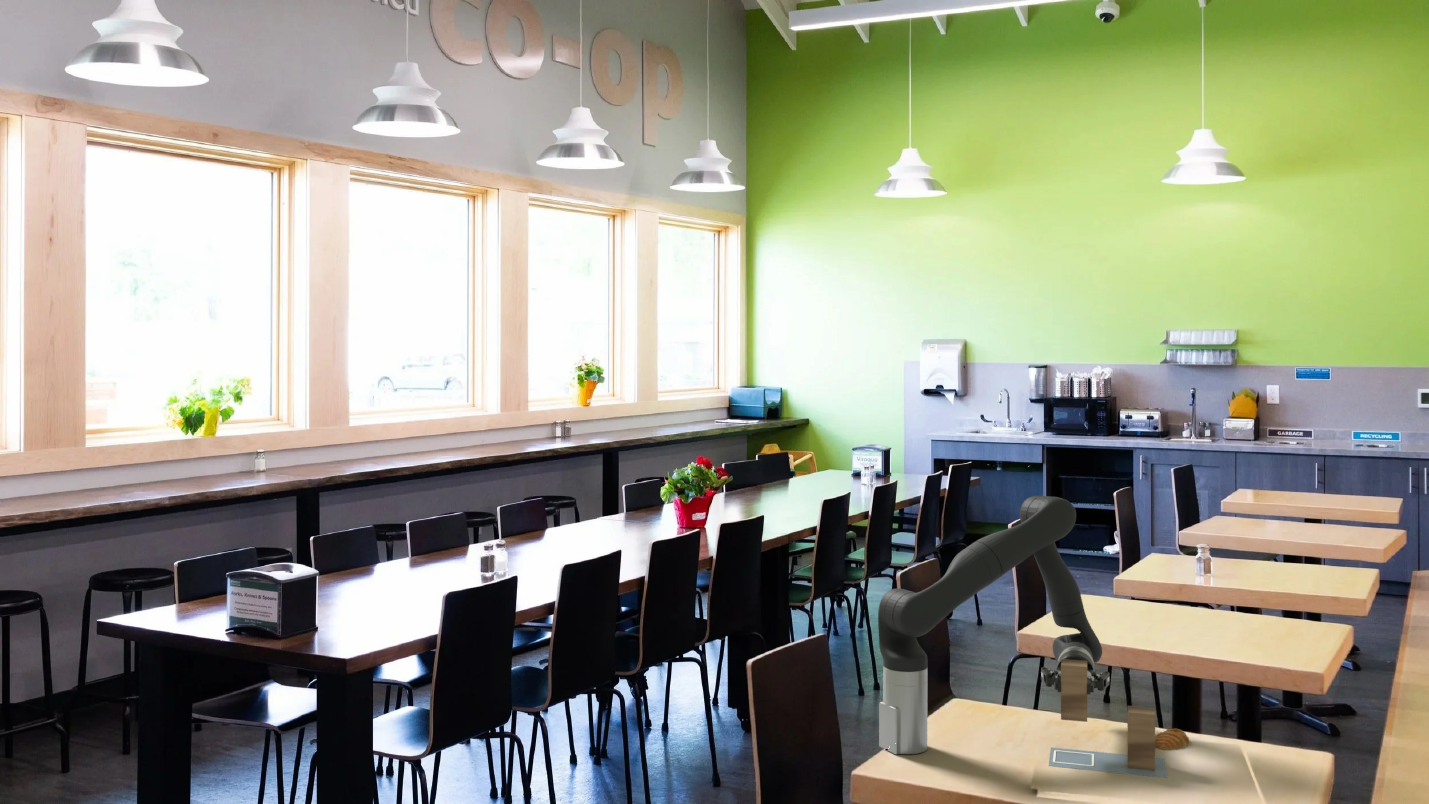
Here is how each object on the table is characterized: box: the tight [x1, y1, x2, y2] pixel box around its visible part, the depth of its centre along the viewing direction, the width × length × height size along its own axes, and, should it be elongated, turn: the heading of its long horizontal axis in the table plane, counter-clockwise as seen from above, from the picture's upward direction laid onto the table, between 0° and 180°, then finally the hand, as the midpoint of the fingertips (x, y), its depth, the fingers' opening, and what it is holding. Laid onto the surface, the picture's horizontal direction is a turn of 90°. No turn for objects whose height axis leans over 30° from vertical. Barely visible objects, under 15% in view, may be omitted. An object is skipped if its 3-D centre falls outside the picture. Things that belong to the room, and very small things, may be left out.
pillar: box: [1060, 659, 1088, 722], centre depth 232 cm, size 5×5×11 cm
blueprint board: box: [1048, 747, 1168, 779], centre depth 231 cm, size 12×22×1 cm, turn 72°
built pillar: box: [1126, 705, 1156, 771], centre depth 228 cm, size 5×5×11 cm
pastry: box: [1155, 728, 1192, 751], centre depth 242 cm, size 9×7×4 cm
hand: (1074, 688), depth 230 cm, fingers closed on pillar, 5 cm apart
